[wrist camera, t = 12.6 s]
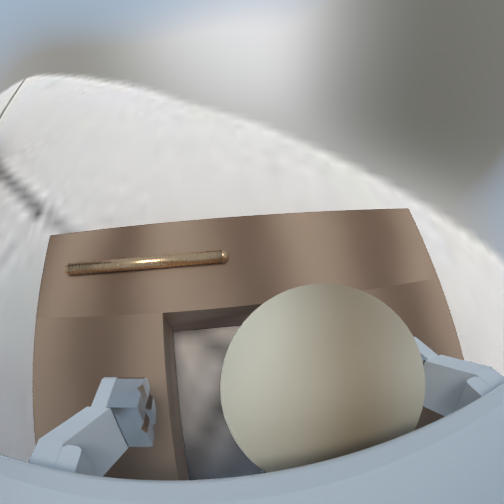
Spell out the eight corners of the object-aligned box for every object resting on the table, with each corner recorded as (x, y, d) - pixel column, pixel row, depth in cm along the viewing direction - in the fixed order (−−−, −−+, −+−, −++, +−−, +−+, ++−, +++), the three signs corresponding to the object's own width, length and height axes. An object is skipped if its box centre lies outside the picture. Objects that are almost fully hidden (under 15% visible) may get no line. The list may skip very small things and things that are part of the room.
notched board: (69, 482, 11) (36, 491, 8) (69, 260, 18) (45, 229, 14) (445, 427, 14) (483, 422, 10) (390, 234, 20) (412, 202, 17)
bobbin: (234, 463, 12) (237, 506, 5) (219, 357, 15) (209, 295, 8) (345, 441, 13) (440, 447, 6) (326, 342, 16) (395, 272, 9)
